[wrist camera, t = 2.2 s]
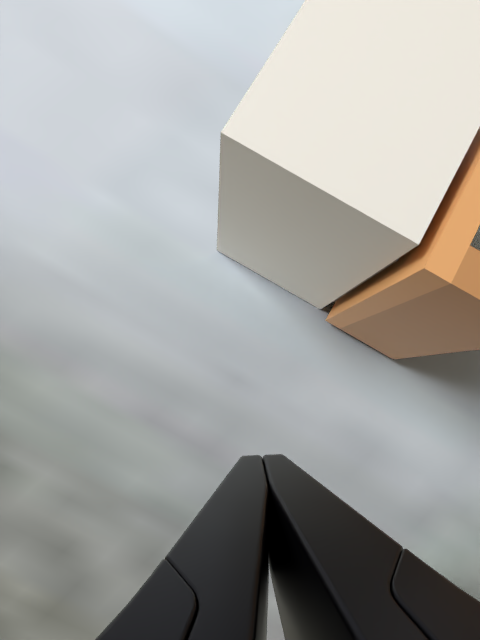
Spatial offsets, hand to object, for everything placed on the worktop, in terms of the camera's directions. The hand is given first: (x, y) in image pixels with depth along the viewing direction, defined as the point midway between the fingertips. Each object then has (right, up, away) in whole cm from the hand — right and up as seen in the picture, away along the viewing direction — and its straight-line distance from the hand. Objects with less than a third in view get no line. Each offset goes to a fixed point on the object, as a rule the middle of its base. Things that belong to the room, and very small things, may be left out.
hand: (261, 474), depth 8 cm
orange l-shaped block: (+7, +5, +12) cm, 15 cm away
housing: (+3, +9, +13) cm, 16 cm away
